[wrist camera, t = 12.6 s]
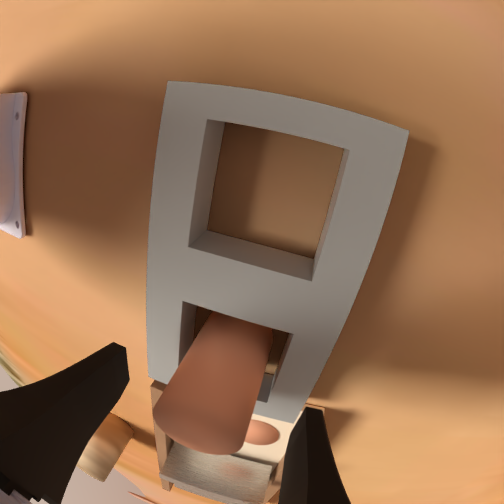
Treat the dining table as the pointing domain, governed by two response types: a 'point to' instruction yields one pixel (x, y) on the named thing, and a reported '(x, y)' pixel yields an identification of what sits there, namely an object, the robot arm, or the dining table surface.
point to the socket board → (256, 255)
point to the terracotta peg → (216, 386)
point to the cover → (216, 475)
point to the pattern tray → (254, 448)
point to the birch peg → (105, 447)
